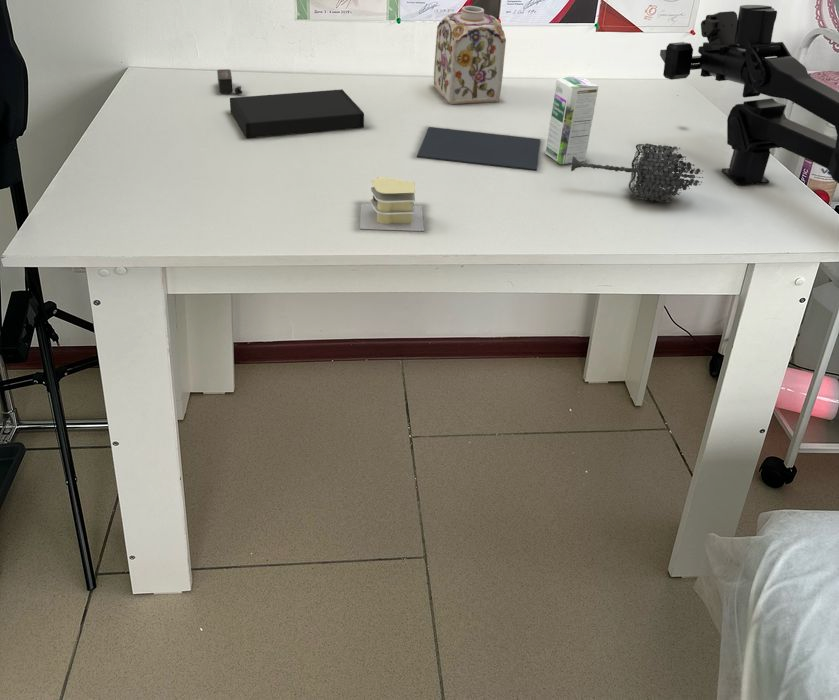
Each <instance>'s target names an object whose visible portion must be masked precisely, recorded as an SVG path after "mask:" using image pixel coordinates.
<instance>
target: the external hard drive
mask: <svg viewBox="0 0 839 700" xmlns="http://www.w3.org/2000/svg"><path fill="white" fill-rule="evenodd" d="M229 109H230V110H229V111H230V113H231V115H232V117H233V118H234V121H235V122H236V124H237V125H238V127H239V129H240V130H241V132H242V134H243V136H244V137H245V139H254V138H264V137H275V136H286V135H297V134H310V133H321V132H331V131H340V130H341V131H342V130H352V129H363V128H364V127H365V112H364V111H363V110H362V109H361V108H360V107H359V106H358V105H357V104H356V103H355V101H354V100H353V99H352V98H351V97H350V96H349V95H348V94H347V93H346V92H345V91H344V89H343V88H342V89H341V88H340V89H329V90H316V91H315V90H314V91H302V92H301V91H300V92H289V93H288V92H287V93H276V94H263V95H249V96H237V97H236V96H235V97H229Z"/></svg>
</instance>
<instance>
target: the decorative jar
mask: <svg viewBox="0 0 839 700" xmlns="http://www.w3.org/2000/svg"><path fill="white" fill-rule="evenodd" d="M460 10H461V11H459V12H452V13H450V14H447V15H446V16H445V17H443V18H442V19H441V21H440V22H439V23H438V24H437V26H436V37H435V38H436V39H435V52H434V53H435V54H434V65H433V87H434V88H435V89H436V91H437V92H438V93H439V94H440V95H441V96H442V98H444V99H445V100H446V101H447V102H448V103H449V104H450V105H458V104H460V105H462V104H478V103H494V102H495V103H497V102H500V101H501V92H502V86H503V78H504V77H503V76H504V67H505V66H504V65H505V56H506V55H505V54H506V44H507V39H506V34H505V31H504V29H503V27H502V23H501V21H500V20H499V19H498V18H496V17H495V16H493V15H490V14H487V13H485V9H484V8H483V7H480V6H474V5H465V6H461V9H460Z"/></svg>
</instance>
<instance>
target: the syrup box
mask: <svg viewBox="0 0 839 700" xmlns="http://www.w3.org/2000/svg"><path fill="white" fill-rule="evenodd" d="M598 90H599V85H597V84H594V83H593V82H590V81H589V80H588V79H585V78H584V76H575V75H574V76H563V77H558V78H556V81H555V88H554V94H553V100H552V101H553V102H552V107H551V114H550V121H549V126H548V133H547V139H546V145H545V152H544V153H545V155H546V156H548V157H550V158H551V159H552V160H554V161H555V162H556V163H558V164H559V165H567V164H568V165H569V164H572V159H573V156H574V157H576V159H577V160H578V161H580V162H585V161H586V159H587V152H588V146H589V141H590V134H591V129H592V125H593V124H592V123H593V119H594V114H595V106H596V102H597V96H598Z"/></svg>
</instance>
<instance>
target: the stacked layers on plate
mask: <svg viewBox="0 0 839 700" xmlns="http://www.w3.org/2000/svg"><path fill="white" fill-rule="evenodd" d="M370 182H371V184H372V187H371V188H370V192H371V194H372V198H371V199H370V203H360V220H359V229H360V230H382V231H383V230H384V231H412V232H424V231H425V230H424V217H423V216H424V215H423V206H422V205H415V204H414V203H415V202H416V196H415V194H416V183H415V181H409V180H404V179H397V178H391V177H379V176H377V177H376V178H374V179H372V180H370Z"/></svg>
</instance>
